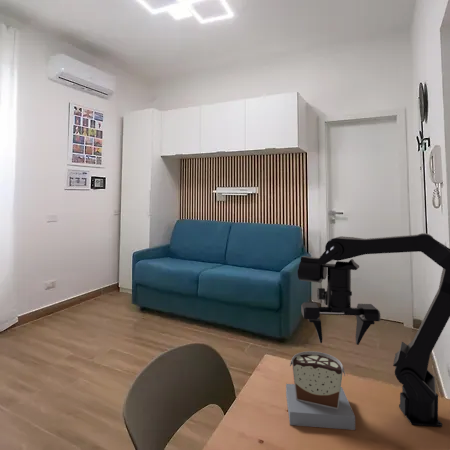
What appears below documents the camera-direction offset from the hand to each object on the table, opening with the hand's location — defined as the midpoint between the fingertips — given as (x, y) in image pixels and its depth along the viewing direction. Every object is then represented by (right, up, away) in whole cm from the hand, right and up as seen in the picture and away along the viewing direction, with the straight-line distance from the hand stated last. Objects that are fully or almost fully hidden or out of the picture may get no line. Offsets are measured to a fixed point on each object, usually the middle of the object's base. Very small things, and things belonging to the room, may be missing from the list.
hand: (338, 343), depth 78 cm
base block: (-8, -13, -7) cm, 17 cm away
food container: (-8, -11, -6) cm, 15 cm away
